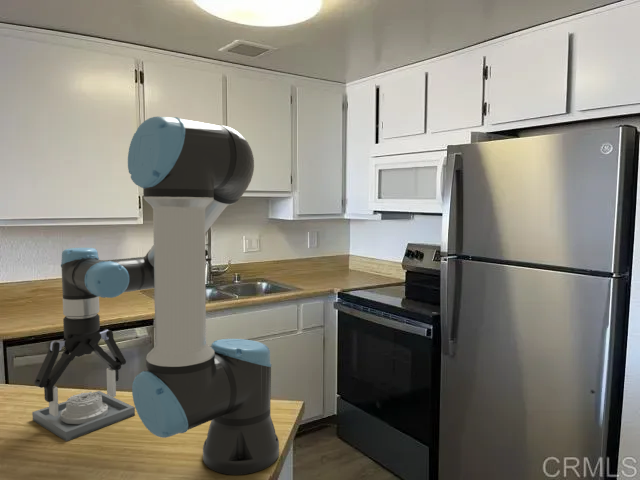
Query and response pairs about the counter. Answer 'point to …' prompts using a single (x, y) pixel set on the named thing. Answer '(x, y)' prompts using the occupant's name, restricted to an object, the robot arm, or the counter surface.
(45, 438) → the counter surface
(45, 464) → the counter surface
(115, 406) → the dock tray
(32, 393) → the counter surface
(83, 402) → the mechanical component
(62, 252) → the robot arm
